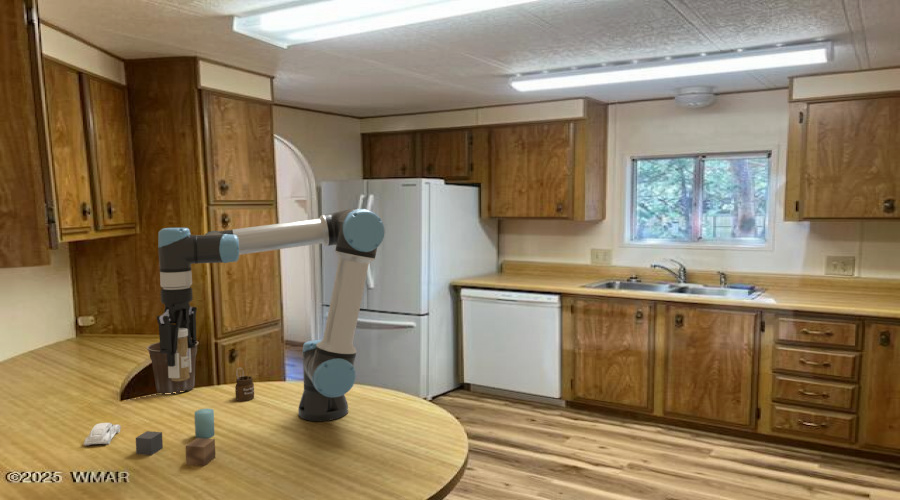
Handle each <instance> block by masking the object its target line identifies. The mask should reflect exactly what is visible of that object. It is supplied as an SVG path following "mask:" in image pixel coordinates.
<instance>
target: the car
mask: <svg viewBox="0 0 900 500" xmlns="http://www.w3.org/2000/svg"><path fill="white" fill-rule="evenodd" d="M121 428H122V425H120V424H119V423H118V424H117V423H116V424H112V422H101V423H96V424H95V425H94V426H93V427H92V429H91V430H90V432H89V434H88V435H87V436H86V437H85V439H84V442H83V446H85V447H87V446H91V445H110V444H111V443H110V442H111V441H112V439H113V438H114V437H115V435H116V434H119V433H120V432H121Z"/></svg>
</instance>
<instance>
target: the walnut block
mask: <svg viewBox="0 0 900 500" xmlns="http://www.w3.org/2000/svg"><path fill="white" fill-rule="evenodd" d="M215 440H216V439H215V438H214V439H213V438H208V439H204V438H196V437H195V439H193V440H192V441H191V442H188V443H187V444H186V445H185V464H186V465H188V466H196V467H199V466H200V467H205V466H207V465H208V464H209V463H210V462H212V461H213V460H214V459H216V441H215Z"/></svg>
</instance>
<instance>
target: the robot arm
mask: <svg viewBox="0 0 900 500" xmlns="http://www.w3.org/2000/svg"><path fill="white" fill-rule="evenodd" d="M385 230H386V229H385V224H384V222H383V220H382V219H381V217H380V216H378V214H376V213H375V212H373V211H372V210H368V209H367V208H347V209H344V210H340V211H336V212H332V213H326V214H321V215H320V216H319V218H313V219H312V218H311V219H304V220H299V221H298V220H297V221H296V220H295V221H291V222H290V221H287V222H280V223H274V224H266V225H265V224H264V225H259V226H258V225H257V226H250V227H242V228H235V229H227V230H212V231H211V230H210V231H208V232H207V233H205V234H199V235H197V234H191V231H190V229H189V227H165V228H161V229H160V230H159V231H158V237H157V238H158V243H157V244H158V247H157V249H158V251H157V252H158V261H159V262H158V263H159V275H160V276H159V278H160V288H161V289H160V303H162V304H163V305H164V311H163V314H161V315H157V316H156V321H157V324H158V332H159V333H158V335H159V342H160V352H161V353H163V354H167V365H168V376H169V378H180V372H179V353H176V350H177V340H178V329H179V328H187V329H188V337H187V341H188V342H187V343H188V358H189V373H191V372H192V370H191V347H192V348H194V347H195V344H193V343H196V341H197V318H196V316H197V310H198V309H197V306H191V305H190V302H193V299H194V297H193V288H192V287H191V286H193V277H192V275H193V273H192V264H193V265H194V264H217V263H218V264H219V263H220V264H221V263H222V264H227V263H235V262H238V261H239V258H240V256H241V255H247V254H249V255H250V254H254V253H261V252H263V253H264V252H270V251H277V250H285V249H292V248H299V247H305V246H313V245H320V244H322V245H324V246H325V247H330V246H336V247H335V250H334V253H336V255H337V256H338V263H337V267H336V273H335V277H334V278H335V279H334V283H333V288H332V293H331V298H330V302H329V309H328V313H327V318H326V323H325V328H324V333H323V338H322V339H315V340H308V341H306V342H304V343H303V345H302V352H301V354H302V363H303V364H302V366H303V368H302V369H303V370H302V371H303V391H302V395H301V398H300V401H299V405H298V409H297V410H298V411H297V412H298V416H299V417H300V418H301V419H302V420H305V421H309V422H310V421H311V422H327V421H333V420H337V419H340V418H342V417H344V416H345V415H347V414H348V412H349V404H348V400H347V397H346V394H347V393H348V392H349V391H350V390H351V389H352V388H353V387H354V385H355V382H356V380H357V379H356V377H357V373H356V369H355V367H354V365H355V361H356V357H357V356H356V354H357V349H356V348H355V346H354V344H353V343H354V338H355V334H356V328H357V324H358V319H359V314H360V310H361V309H360V308H361V305H362V299H363V296H364V295H363V294H364V289H365V284H366V279H367V275H368V269H369V265H370V263H372V262H374V261H375V260H376V255H377V251H378V247H380V245H381V243H383V241H384V237H385V233H386V232H385Z"/></svg>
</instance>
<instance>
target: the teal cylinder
mask: <svg viewBox="0 0 900 500" xmlns="http://www.w3.org/2000/svg"><path fill="white" fill-rule="evenodd" d="M194 430H195V431H194V436H195V439H196V438H204V439H212V438H213V437H214V436H215V435H216V433H215V413H214V409H213V408H201V409H197V410H195V411H194Z"/></svg>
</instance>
